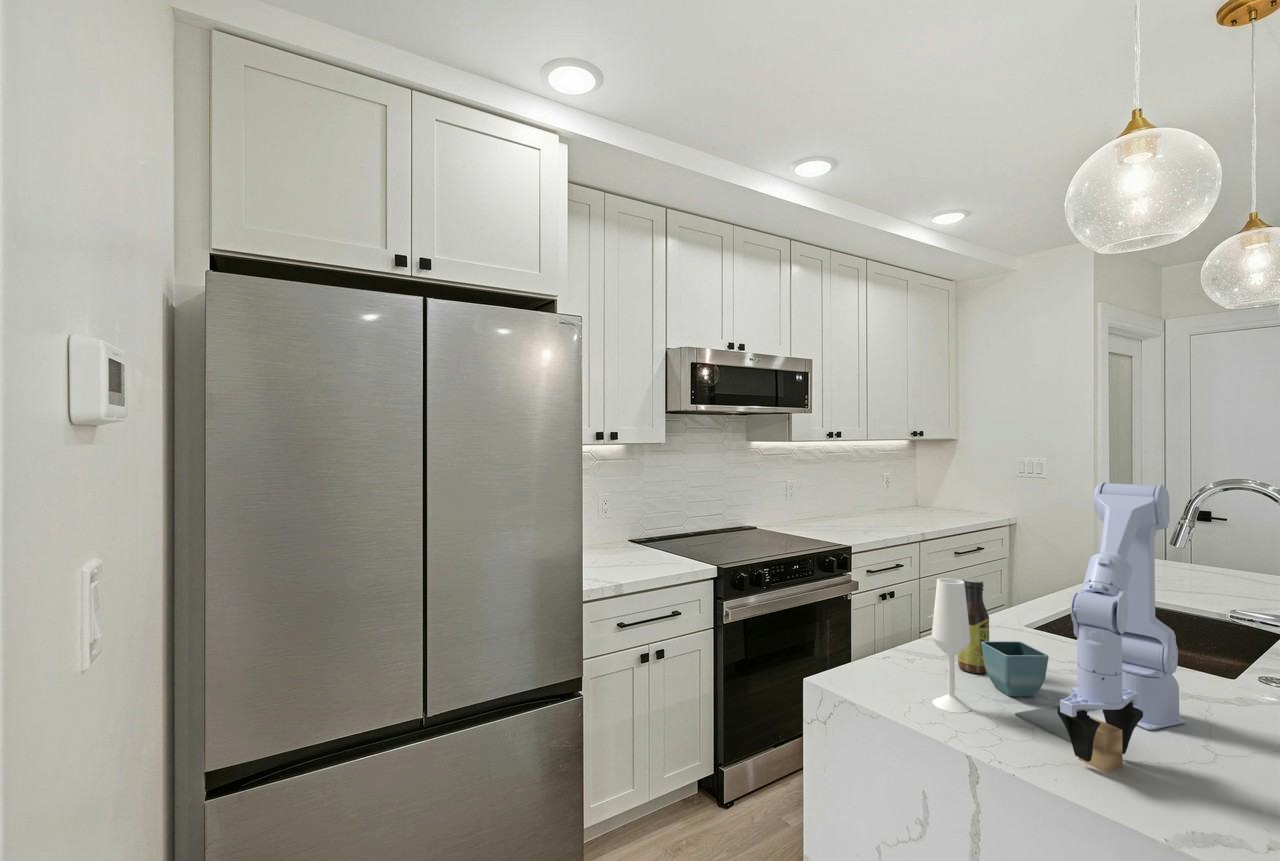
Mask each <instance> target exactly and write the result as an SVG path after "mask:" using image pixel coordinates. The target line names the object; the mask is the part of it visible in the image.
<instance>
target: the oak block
mask: <svg viewBox="0 0 1280 861" xmlns="http://www.w3.org/2000/svg"><path fill="white" fill-rule="evenodd" d="M1093 720H1095V721H1098V722H1100V723H1101V724H1100V725H1099V727H1098V729H1097V731H1096V734H1095V737H1094V741H1093V753H1092V758H1091V761H1088V762H1087V761H1085V760H1083V759H1081V758H1079V757H1078V760H1079V761H1080V762H1083V763H1085V764H1087V765H1089V766H1091V767H1093V768H1095V769H1096V770H1098V771H1101V772H1102V773H1107V772H1111V771H1117V770H1121V769H1123V768H1124V766H1123V754H1122V730H1121V729H1119V728H1117V727H1114V726H1112V725H1110V724H1108V723H1106V721H1102V720H1100V719H1098V718H1095V719H1093Z"/></svg>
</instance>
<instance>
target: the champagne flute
mask: <svg viewBox="0 0 1280 861" xmlns="http://www.w3.org/2000/svg"><path fill="white" fill-rule="evenodd" d="M935 589H936V590H935V597H934V598H935V599H934V607H933V608H934V609H933V617H932V628H931V638H932V641H933V642H934V643H935V645H936V646H937V647H938V648H939V649H941V650H940V651H942V652H943V653H944V654H946V655H947V694H945V695H943V696H939V697H937V698H936V697H935V698H934V699H932V703H931V704H932V705H933V706H935V707H936V708H938V709H940V710H943V711H945V712H950V713H957V714H964V713H969V712H970V711H972V710H971V709H972V708H971V706H970V705H969V704H968V703H966V702H965V701H964V700H962V699H961V698H959V697H957V696H956V695H955V691H956V690H955V687H956V686H955V685H956V684H955V675H956V674H955V656H958V654H959V653H960V652H962V651H963V650H965V649H966V648H967V647H968V645H969V644H970V641H971V639H970V630H969V621H968V611H967V602H966V593H965V584H964V581H963V580H961V579H957V578H947V577H944V578H943V577H941V578H937V579H936V587H935Z"/></svg>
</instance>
